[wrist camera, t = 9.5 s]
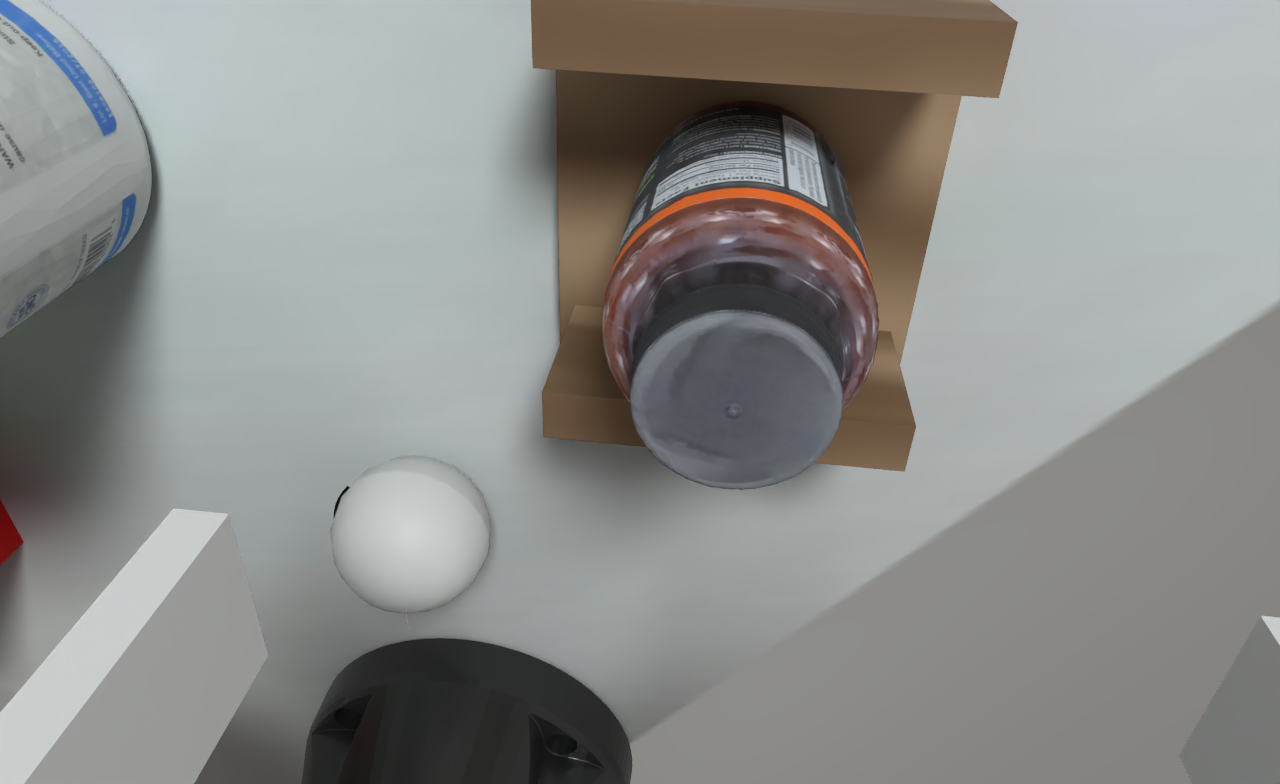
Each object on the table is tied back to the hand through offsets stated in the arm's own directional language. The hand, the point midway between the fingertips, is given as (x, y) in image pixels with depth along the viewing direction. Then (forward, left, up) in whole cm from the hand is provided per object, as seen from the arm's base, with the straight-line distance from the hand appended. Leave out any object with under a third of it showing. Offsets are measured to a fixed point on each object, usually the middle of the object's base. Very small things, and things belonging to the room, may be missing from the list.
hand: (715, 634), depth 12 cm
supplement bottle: (0, 0, -17) cm, 17 cm away
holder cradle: (0, 0, -18) cm, 18 cm away
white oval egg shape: (-14, +11, -18) cm, 25 cm away
